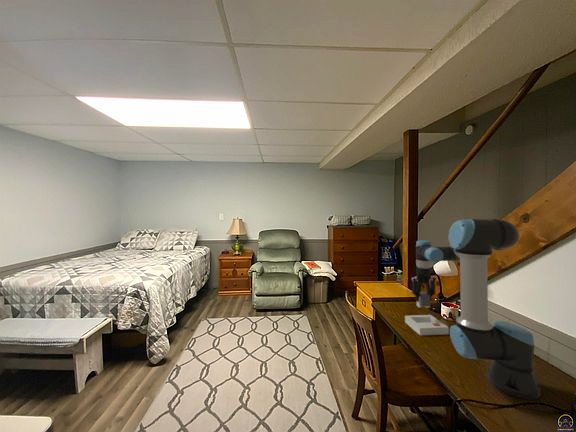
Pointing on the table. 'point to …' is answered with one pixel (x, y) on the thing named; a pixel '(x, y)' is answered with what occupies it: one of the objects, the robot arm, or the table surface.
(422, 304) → the plug
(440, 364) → the table surface
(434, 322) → the socket plate
